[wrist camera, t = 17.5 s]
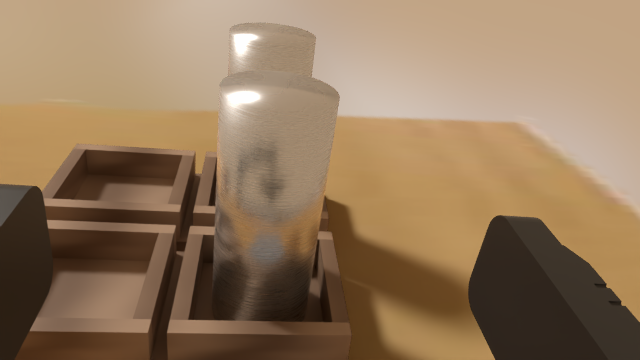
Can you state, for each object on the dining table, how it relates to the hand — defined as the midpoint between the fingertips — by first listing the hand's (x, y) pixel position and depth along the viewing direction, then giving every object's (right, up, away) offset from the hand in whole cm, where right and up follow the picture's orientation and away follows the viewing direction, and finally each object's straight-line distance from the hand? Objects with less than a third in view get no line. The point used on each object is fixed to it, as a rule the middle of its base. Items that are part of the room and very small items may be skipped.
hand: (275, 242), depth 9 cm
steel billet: (-2, -5, +18) cm, 19 cm away
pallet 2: (-7, -6, +18) cm, 20 cm away
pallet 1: (-8, -1, +26) cm, 27 cm away
